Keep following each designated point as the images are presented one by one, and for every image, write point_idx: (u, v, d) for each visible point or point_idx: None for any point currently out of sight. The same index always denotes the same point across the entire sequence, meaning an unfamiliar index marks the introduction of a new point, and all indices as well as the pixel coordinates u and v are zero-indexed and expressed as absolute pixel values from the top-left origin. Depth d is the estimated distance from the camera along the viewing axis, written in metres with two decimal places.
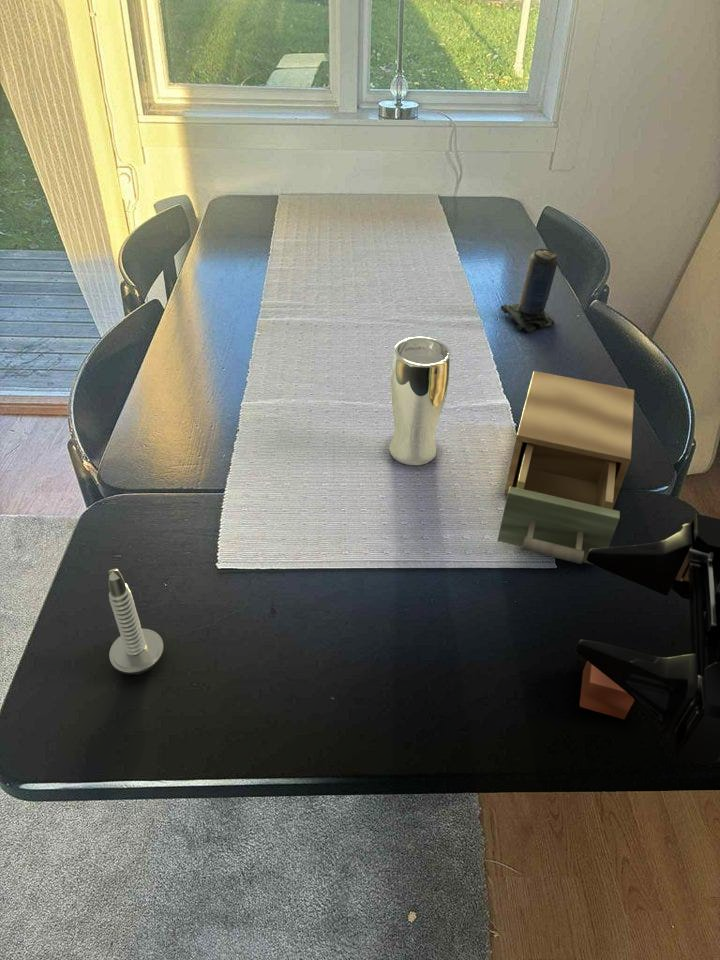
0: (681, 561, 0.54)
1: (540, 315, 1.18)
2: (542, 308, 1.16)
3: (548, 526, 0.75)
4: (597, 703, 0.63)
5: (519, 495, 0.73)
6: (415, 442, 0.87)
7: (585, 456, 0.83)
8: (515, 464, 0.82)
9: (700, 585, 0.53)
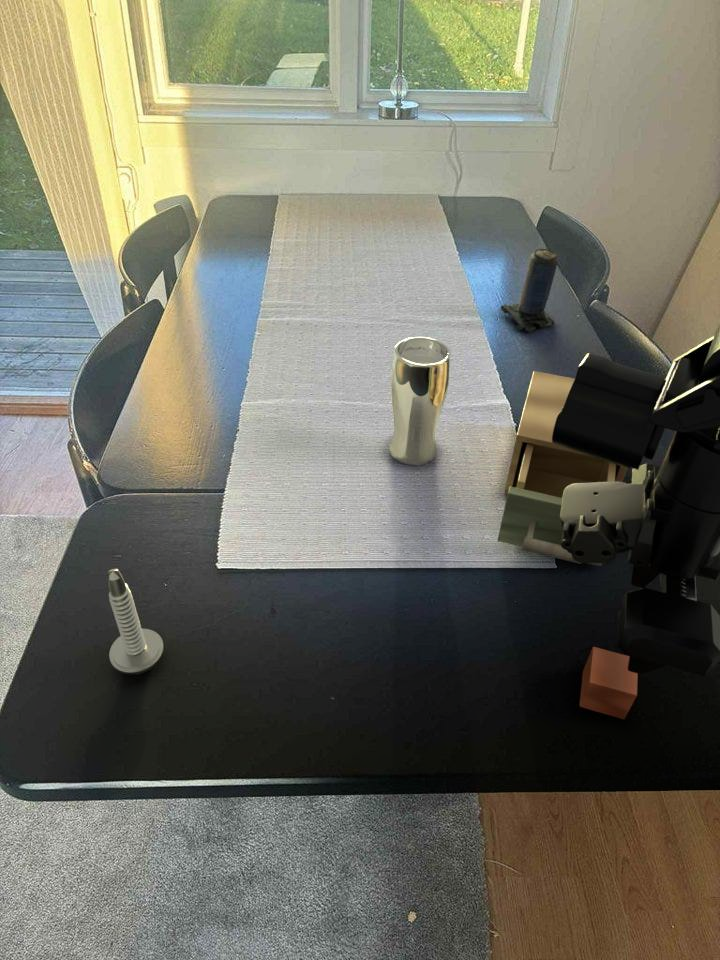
0: None
1: (540, 315, 1.18)
2: (542, 308, 1.16)
3: (548, 526, 0.75)
4: (597, 703, 0.63)
5: (519, 495, 0.73)
6: (415, 442, 0.87)
7: (585, 456, 0.83)
8: (515, 464, 0.82)
9: None
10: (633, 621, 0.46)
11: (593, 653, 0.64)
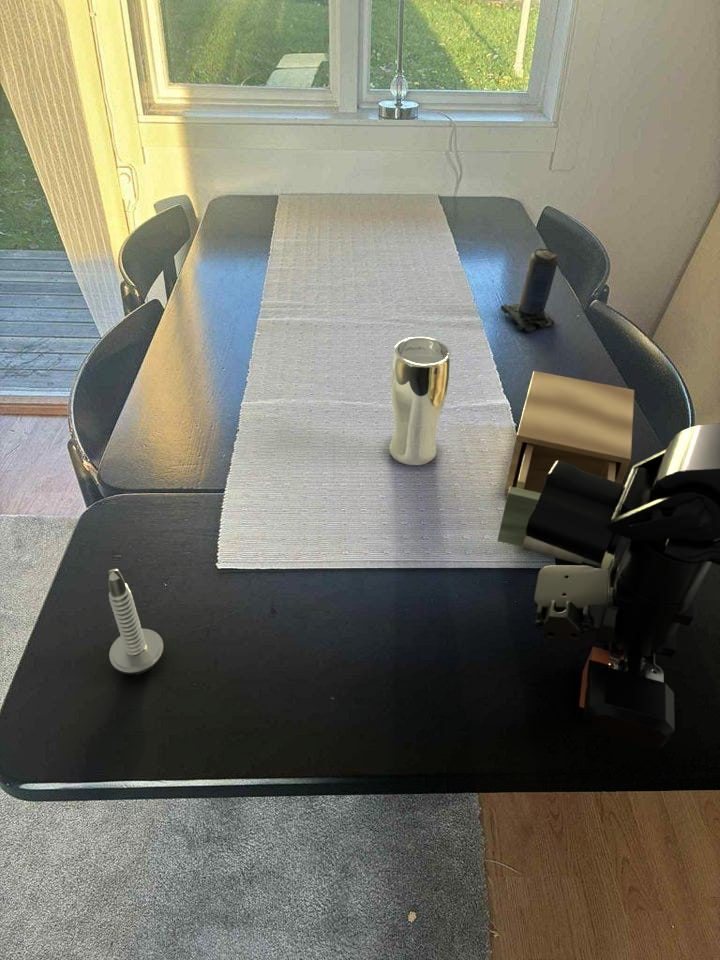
0: None
1: (540, 315, 1.18)
2: (542, 308, 1.16)
3: None
4: None
5: (519, 495, 0.73)
6: (415, 442, 0.87)
7: (585, 456, 0.83)
8: (515, 464, 0.82)
9: None
10: (596, 699, 0.53)
11: (593, 653, 0.64)
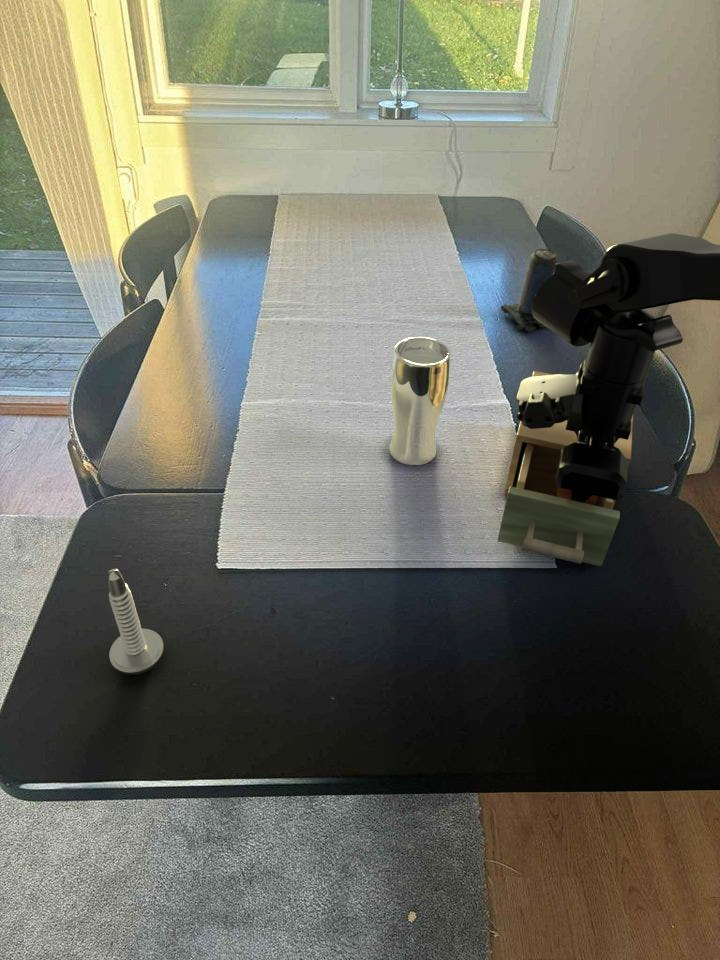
0: None
1: None
2: None
3: (548, 526, 0.75)
4: (569, 498, 0.76)
5: (519, 495, 0.73)
6: (415, 442, 0.87)
7: None
8: (515, 464, 0.82)
9: None
10: (565, 462, 0.65)
11: None
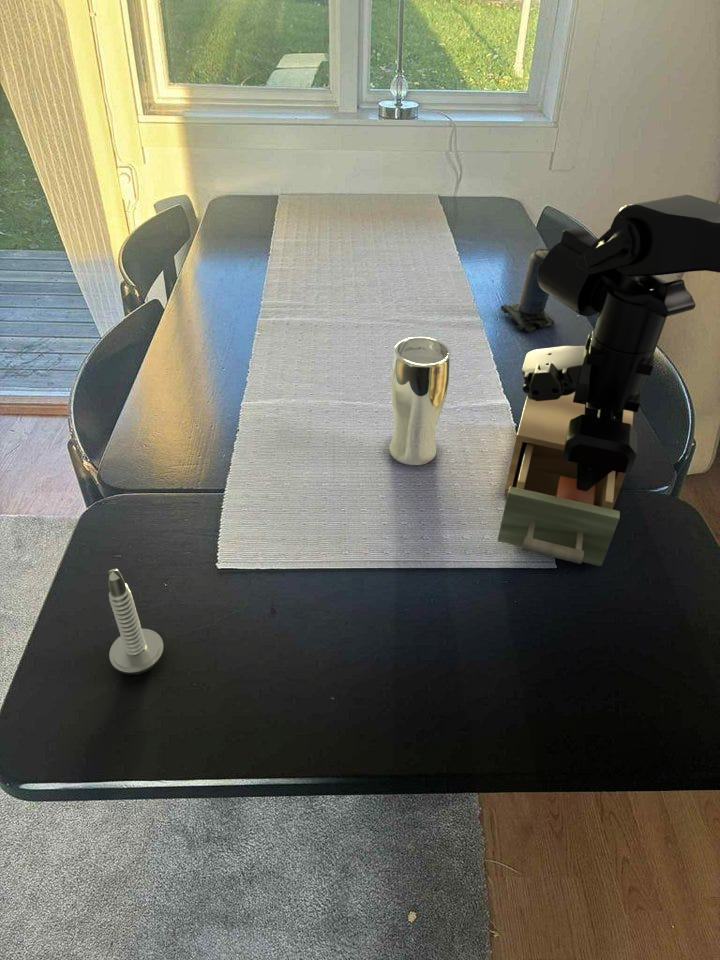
0: None
1: (540, 315, 1.18)
2: (542, 308, 1.16)
3: (548, 526, 0.75)
4: None
5: (519, 495, 0.73)
6: (415, 442, 0.87)
7: None
8: (515, 464, 0.82)
9: None
10: (573, 434, 0.63)
11: (559, 480, 0.79)
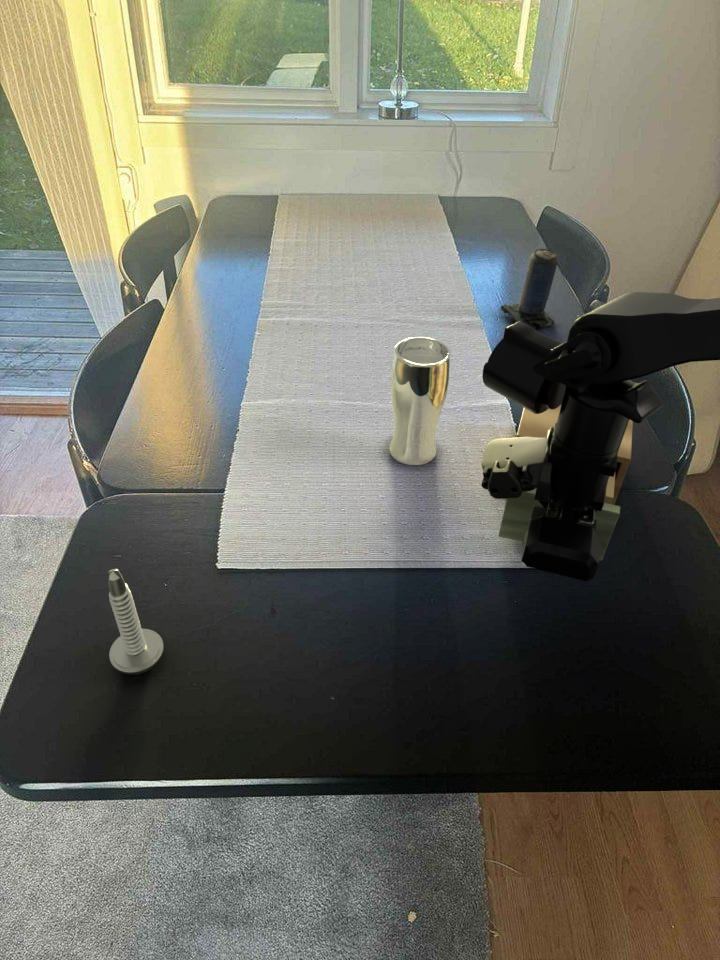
0: None
1: (540, 315, 1.18)
2: (542, 308, 1.16)
3: None
4: None
5: None
6: (415, 442, 0.87)
7: None
8: None
9: None
10: (532, 539, 0.60)
11: None
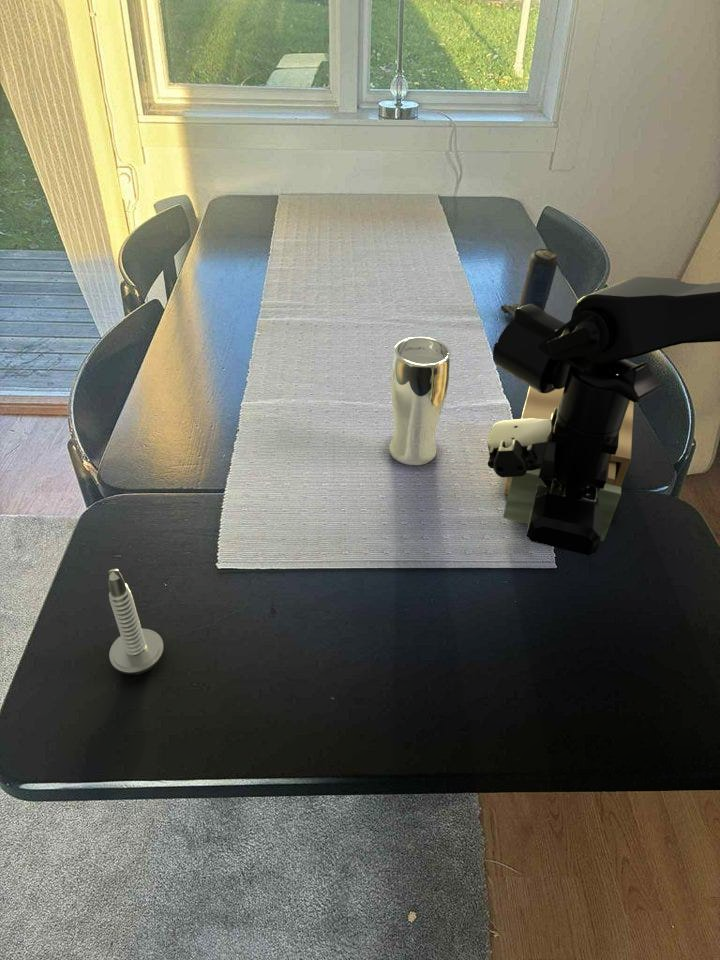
0: None
1: None
2: (542, 308, 1.16)
3: None
4: None
5: None
6: (415, 442, 0.87)
7: None
8: None
9: None
10: (536, 515, 0.62)
11: None
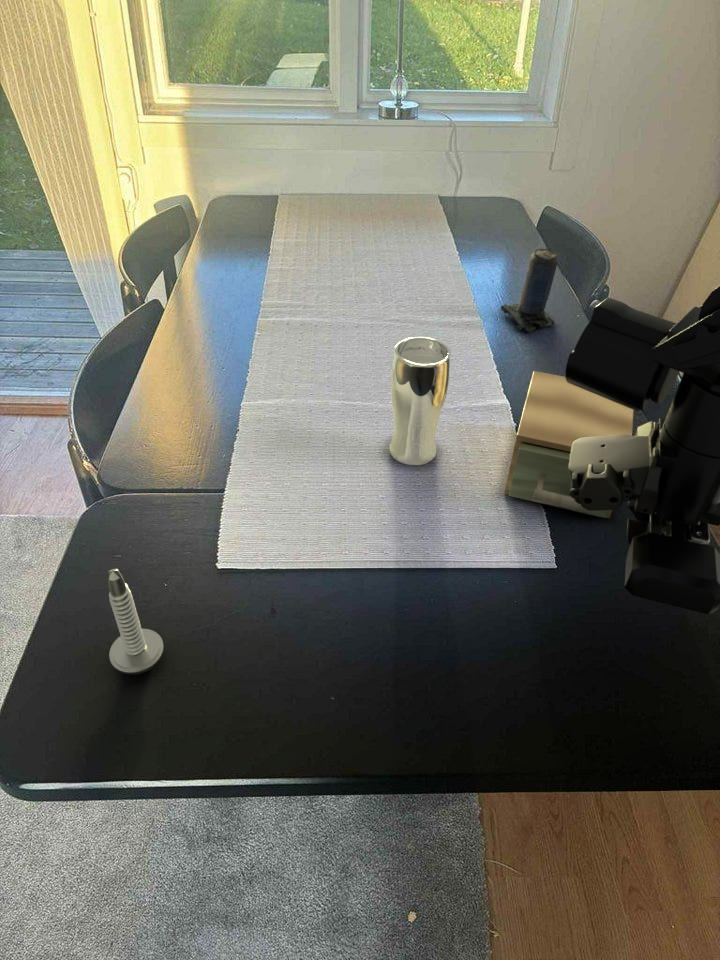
0: None
1: (540, 315, 1.18)
2: (542, 308, 1.16)
3: (556, 479, 0.80)
4: None
5: (529, 450, 0.79)
6: (415, 442, 0.87)
7: None
8: (515, 464, 0.82)
9: None
10: (640, 562, 0.48)
11: None
